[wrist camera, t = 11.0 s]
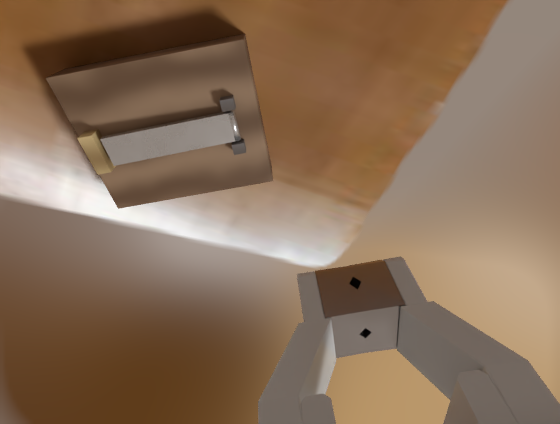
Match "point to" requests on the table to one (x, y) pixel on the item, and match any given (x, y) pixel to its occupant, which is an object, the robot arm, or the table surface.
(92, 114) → the base
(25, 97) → the table surface
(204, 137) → the strap
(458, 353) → the robot arm
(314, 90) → the table surface
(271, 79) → the table surface
